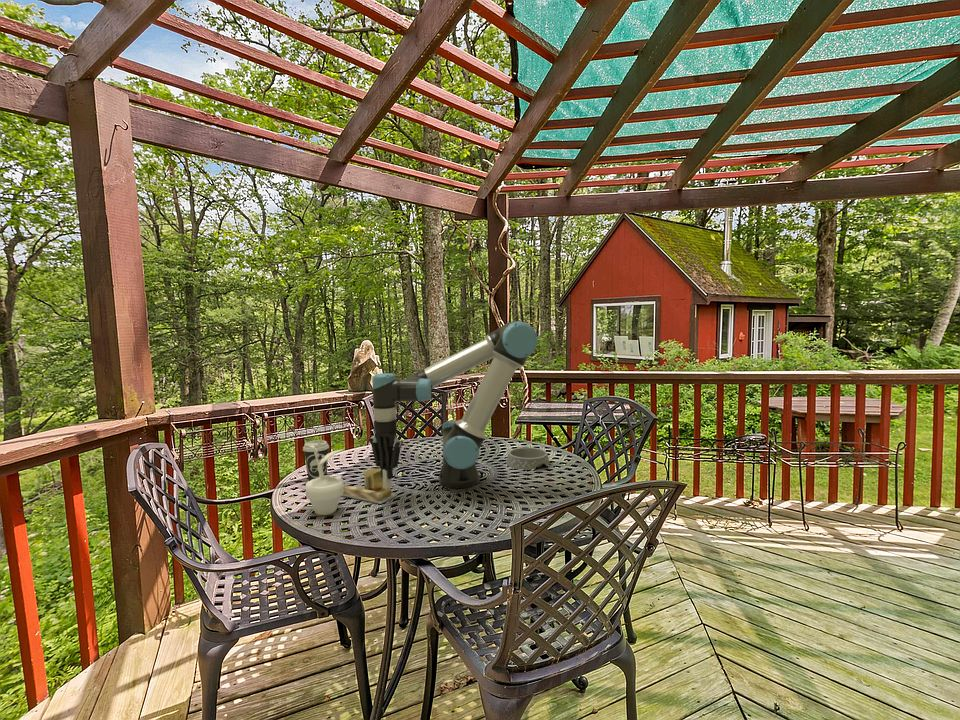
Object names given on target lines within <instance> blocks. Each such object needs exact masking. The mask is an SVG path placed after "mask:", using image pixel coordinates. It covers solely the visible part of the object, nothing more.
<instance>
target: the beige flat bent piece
mask: <svg viewBox="0 0 960 720" xmlns="http://www.w3.org/2000/svg"><path fill="white" fill-rule="evenodd" d="M391 492H392V488H388V489H384V488H383V489H381V490H379V491H372V490H367V489H362V488H357V486H352V485H347V484H344V492H343V494H345V495H350V496H355V497H359V498H364V499H369V500H373V501H378V502H379V501H381V500H382V498H383V497H385V496H387V495H389V494H391Z"/></svg>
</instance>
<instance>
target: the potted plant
mask: <svg viewBox="0 0 960 720" xmlns="http://www.w3.org/2000/svg"><path fill="white" fill-rule="evenodd" d="M318 440H319V443H318V445H317V446H318V447H319V449H321V446H322V445H323V444H321V443H320V439H318ZM309 447H311V448H313V449H314V454H315V457H316V462H317V464H318V468H317V469H318V471H319V476H320V477H319V478H316V479H313V480H310V481H308V480H307V482H306V483H305V497H306V499H308V500H309V502H310V504H311V506H312V509H313V512H314V513H315V514H316V515H318V516H329V515H331V514H334V513H335V512H337V508H338V505H339V501H340V498H341V496H343V492H344V485H345V484H344V479H343V478H342V477H339V476H332V475H331V476H330V475H328V474H327V475H326V476H324V473H323V469H322V465H321V464H323V463H324V462H325V461H327V462H328V461H329V459H330V458H331V457H333V456H334V455H335V454H338V453H340V452H343V451H345V450H346V449H345V448H342V449H336V450H333V451H331V452H328V454H327V455H325V456H324V455H323V456H322V457H323V458H322V459H321V460H320V463H319V462H318V458H319V454H318V455H317V449H316V448H315V447H314V446H313V445H312V446H309Z"/></svg>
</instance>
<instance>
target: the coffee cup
mask: <svg viewBox="0 0 960 720" xmlns="http://www.w3.org/2000/svg"><path fill="white" fill-rule="evenodd" d="M319 440H320V439H317V440H311V441H307V442H305V443H304V446H303V447H302V451H303V453H304V459H305V465H306V466H305V467H306V472H307V482H308V481H310V480H313V479H316V478H319V477H320V476H319V471H318V469H317V468H318V464H317V462H316V457H315V454H314V449H313V448H311V447H309V446H312V445H313V446H314V447H315V448H316V449H317V455H318V454H319V458H318V462H319V463H320V460H321V459H322V458H323V457H322V456H323V455H324V456H325V455H327V454H328V453H329V448H330V445H329V444H328V441H326V440H323V439H322V440H320V443H321V444H323V445H322V446H321V449H319V447H318V446H317V445H318V443H319ZM321 465H322V469H323V473H324V476H326V475H328V460H327V461H325V462H324V463H323V464H321Z"/></svg>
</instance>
